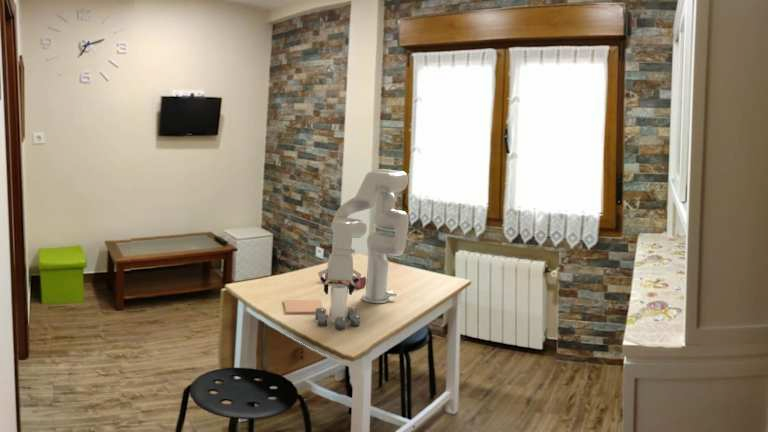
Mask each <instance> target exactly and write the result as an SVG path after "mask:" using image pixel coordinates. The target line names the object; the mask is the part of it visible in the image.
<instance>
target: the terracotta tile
mask: <svg viewBox="0 0 768 432" xmlns="http://www.w3.org/2000/svg"><path fill="white" fill-rule="evenodd" d="M321 301H322V300H321V299H283V305H284V311H285V314H286V315H316V309H317V308H324V307H323V303H322V302H321Z"/></svg>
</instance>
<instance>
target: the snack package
mask: <svg viewBox="0 0 768 432" xmlns="http://www.w3.org/2000/svg"><path fill="white" fill-rule="evenodd" d="M356 276H357V275H355V274H354V273H353V278H352V280H354V279H355V278H356ZM326 278H327V273H325V274H324V279H326ZM366 280H367V276H366V275H364V274H361V277H360V279H359V281H358V282H356V283H355V285H354V288H356V289H360V290H362V289H364V288H366ZM329 282H331V283H333V284H343V285H346V286H348V287H349V284H350V281H343V280H330V281H329ZM329 282H328V283H329Z"/></svg>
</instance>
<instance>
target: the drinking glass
mask: <svg viewBox="0 0 768 432" xmlns="http://www.w3.org/2000/svg"><path fill="white" fill-rule="evenodd" d="M348 294H349V286H347V285H343V284H338V283H333V284H332V285H331V286H330V307H331V316H330V323H332V324H335V319H336V318H337V317H344V318H345V315H346V314H345V313H346V309H347V308H346V307H347V301H348Z"/></svg>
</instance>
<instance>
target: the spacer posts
mask: <svg viewBox="0 0 768 432" xmlns="http://www.w3.org/2000/svg"><path fill="white" fill-rule="evenodd" d="M346 309H347V312H346V318H345V316H344V317H337V318H336V319H335V323H334V329H335V330H336V331H344V330H346V320H348V321H349V326H350V327H355V328H357V327H360V325H361V315H360V314H358V309H357V308H355V307H349V308H346ZM326 311H327V310H326V308H324V307H323V308H317V309H316V314H315V317H314V319H315V320H316V321H317V324H316V325H317V327H319V328H326V327H328V323H329V322H328V321H329V317H331V306H330V311H329V315H328V314H326Z"/></svg>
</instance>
